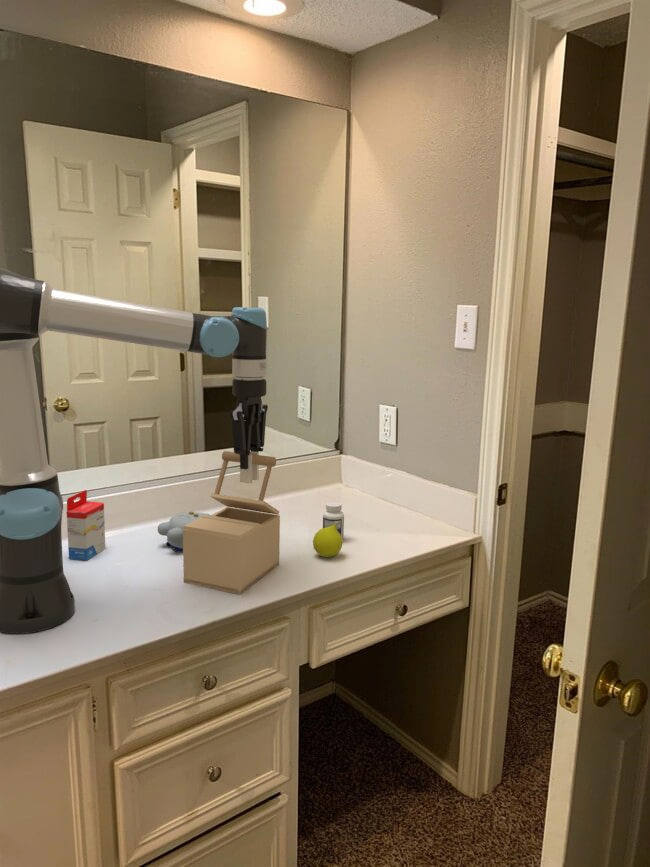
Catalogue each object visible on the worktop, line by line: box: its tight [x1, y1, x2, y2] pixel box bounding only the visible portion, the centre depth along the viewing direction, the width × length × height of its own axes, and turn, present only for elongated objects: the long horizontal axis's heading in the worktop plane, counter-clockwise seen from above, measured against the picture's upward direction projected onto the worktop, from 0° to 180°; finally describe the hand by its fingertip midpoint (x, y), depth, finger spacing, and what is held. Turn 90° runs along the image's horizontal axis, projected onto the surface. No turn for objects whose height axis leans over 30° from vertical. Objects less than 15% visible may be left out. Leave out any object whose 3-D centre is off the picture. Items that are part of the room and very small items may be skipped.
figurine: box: [157, 510, 211, 553], centre depth 165 cm, size 17×8×20 cm
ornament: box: [312, 521, 343, 558], centre depth 158 cm, size 7×7×10 cm
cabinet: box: [182, 506, 281, 595], centre depth 146 cm, size 18×14×13 cm
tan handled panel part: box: [209, 450, 280, 515], centre depth 150 cm, size 9×14×11 cm
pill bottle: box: [322, 501, 345, 542], centre depth 169 cm, size 5×5×10 cm
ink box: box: [66, 489, 106, 561], centre depth 155 cm, size 8×5×15 cm, turn 168°
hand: (249, 480), depth 149 cm, fingers open, 2 cm apart
